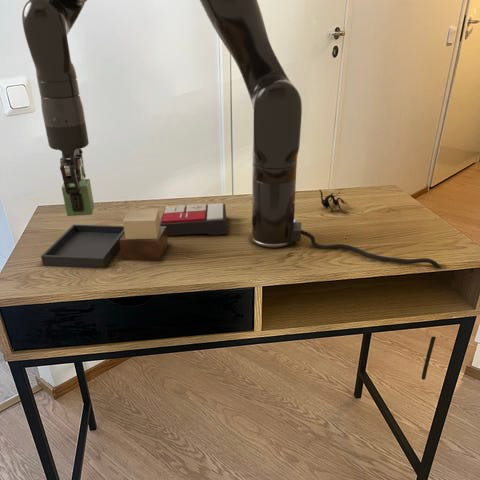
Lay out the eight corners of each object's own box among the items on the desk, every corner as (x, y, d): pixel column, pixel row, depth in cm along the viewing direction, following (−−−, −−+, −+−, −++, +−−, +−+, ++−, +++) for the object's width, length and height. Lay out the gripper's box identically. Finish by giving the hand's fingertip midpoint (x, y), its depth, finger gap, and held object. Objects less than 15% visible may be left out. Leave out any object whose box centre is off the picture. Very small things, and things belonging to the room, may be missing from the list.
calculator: (163, 204, 123) (224, 200, 122) (166, 221, 125) (226, 217, 125) (159, 221, 113) (224, 216, 113) (161, 238, 116) (226, 234, 116)
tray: (129, 234, 116) (128, 226, 115) (104, 267, 102) (103, 258, 101) (74, 232, 118) (73, 224, 117) (43, 265, 103) (40, 256, 102)
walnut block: (168, 245, 111) (166, 226, 109) (159, 261, 104) (157, 241, 102) (133, 244, 112) (130, 225, 110) (122, 259, 105) (119, 239, 103)
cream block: (160, 226, 109) (158, 209, 106) (157, 238, 103) (155, 220, 101) (130, 227, 108) (128, 209, 106) (125, 239, 103) (122, 221, 101)
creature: (338, 206, 134) (312, 203, 131) (344, 187, 131) (318, 183, 128) (353, 217, 128) (325, 214, 125) (359, 196, 125) (332, 193, 122)
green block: (94, 206, 108) (89, 178, 104) (92, 214, 103) (87, 186, 100) (70, 207, 107) (64, 180, 104) (67, 216, 103) (61, 187, 100)
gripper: (80, 128, 90) (95, 218, 99) (88, 113, 102) (101, 194, 111) (37, 129, 89) (56, 220, 98) (50, 114, 101) (66, 196, 110)
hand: (80, 206), depth 105 cm, fingers closed on green block, 5 cm apart
